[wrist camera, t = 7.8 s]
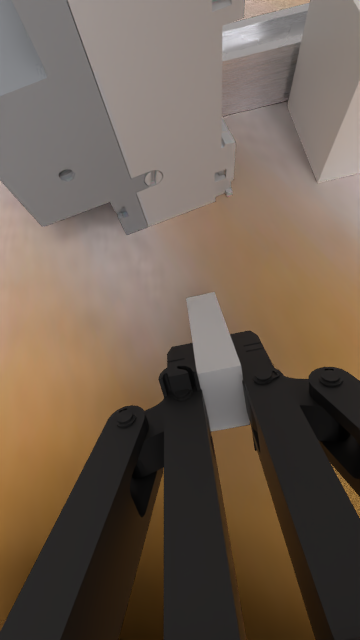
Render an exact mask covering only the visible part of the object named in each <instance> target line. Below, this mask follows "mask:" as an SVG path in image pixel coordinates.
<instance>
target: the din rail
mask: <svg viewBox="0 0 360 640" xmlns="http://www.w3.org/2000/svg"><path fill="white" fill-rule="evenodd" d="M309 4H310V3H306V4H303V5H299V6H295V7H291V8H287V9H283V10H279V11H275V12H271V13H267V14H263V15H260V16H256V17H252V18H248V19H244V20H240V21H236V22H232V23H229V24H226V25H223V35H222V116H225V115H229V114H234V113H238V112H242V111H246V110H250V109H254V108H259V107H263V106H267V105H271V104H275V103H279V102H284V101H288V100H289V96H290V91H291V86H292V82H293V77H294V73H295V68H296V63H297V59H298V54H299V50H300V45H301V40H302V36H303V31H304V27H305V22H306V17H307V13H308V8H309Z"/></svg>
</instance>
